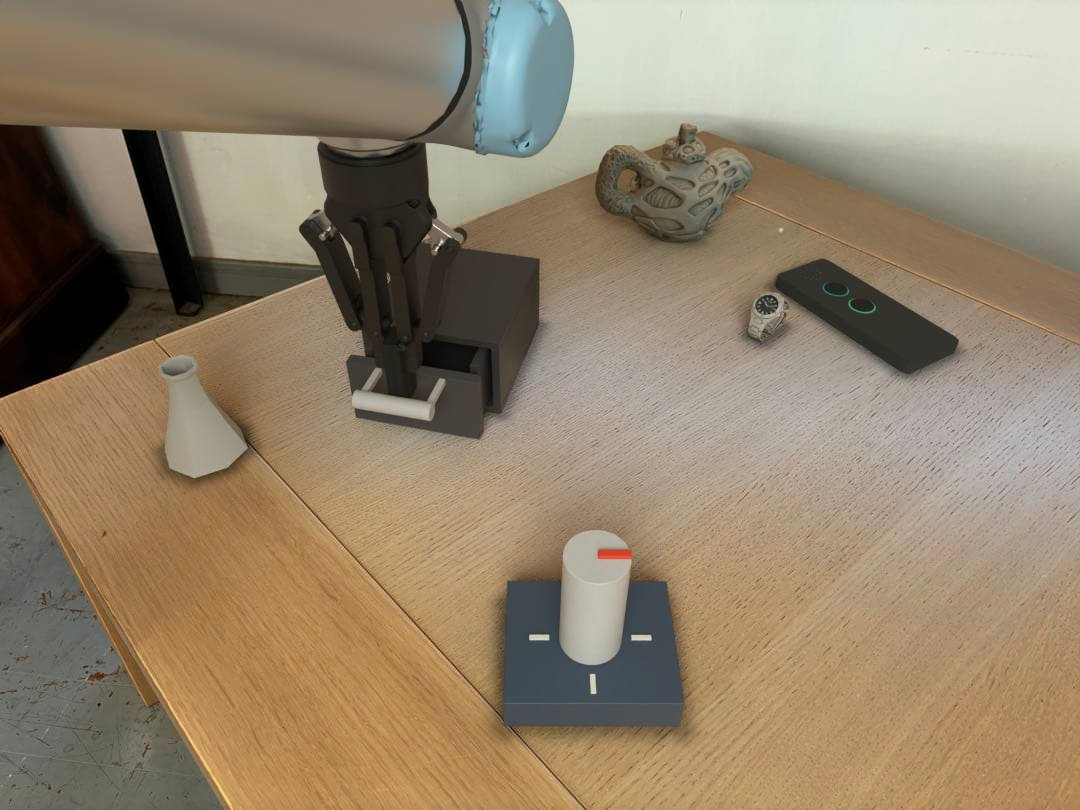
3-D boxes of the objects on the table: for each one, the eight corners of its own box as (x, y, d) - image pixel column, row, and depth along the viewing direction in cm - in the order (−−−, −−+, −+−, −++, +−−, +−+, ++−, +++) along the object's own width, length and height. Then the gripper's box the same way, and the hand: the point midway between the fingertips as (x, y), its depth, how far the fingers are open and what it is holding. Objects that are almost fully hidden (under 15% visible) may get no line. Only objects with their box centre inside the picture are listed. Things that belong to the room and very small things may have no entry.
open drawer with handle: (463, 477, 73) (459, 416, 69) (333, 453, 75) (320, 392, 71) (519, 349, 88) (519, 291, 83) (409, 332, 90) (403, 275, 85)
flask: (262, 450, 77) (238, 365, 70) (190, 490, 73) (157, 404, 66) (221, 414, 81) (195, 330, 74) (151, 451, 77) (116, 365, 70)
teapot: (722, 204, 115) (740, 96, 105) (764, 244, 107) (787, 130, 97) (578, 226, 110) (583, 114, 100) (610, 269, 102) (618, 152, 92)
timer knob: (559, 665, 57) (563, 581, 51) (558, 611, 60) (561, 526, 54) (624, 665, 57) (635, 581, 51) (619, 611, 60) (629, 526, 54)
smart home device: (825, 255, 101) (963, 338, 88) (821, 268, 103) (957, 351, 90) (774, 273, 98) (910, 362, 85) (771, 286, 99) (905, 376, 86)
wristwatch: (738, 337, 91) (746, 299, 88) (768, 314, 95) (777, 277, 91) (766, 351, 89) (775, 312, 86) (795, 327, 93) (805, 289, 90)
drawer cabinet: (501, 414, 81) (499, 343, 75) (371, 392, 83) (359, 321, 78) (539, 325, 93) (539, 258, 87) (424, 308, 95) (417, 241, 89)
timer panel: (503, 726, 56) (503, 702, 54) (507, 604, 64) (507, 579, 62) (679, 726, 57) (685, 702, 55) (662, 605, 64) (666, 579, 62)
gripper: (476, 125, 59) (486, 381, 75) (308, 107, 62) (351, 359, 77) (442, 169, 54) (461, 436, 69) (259, 147, 56) (316, 410, 71)
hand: (403, 395), depth 73 cm, fingers closed
